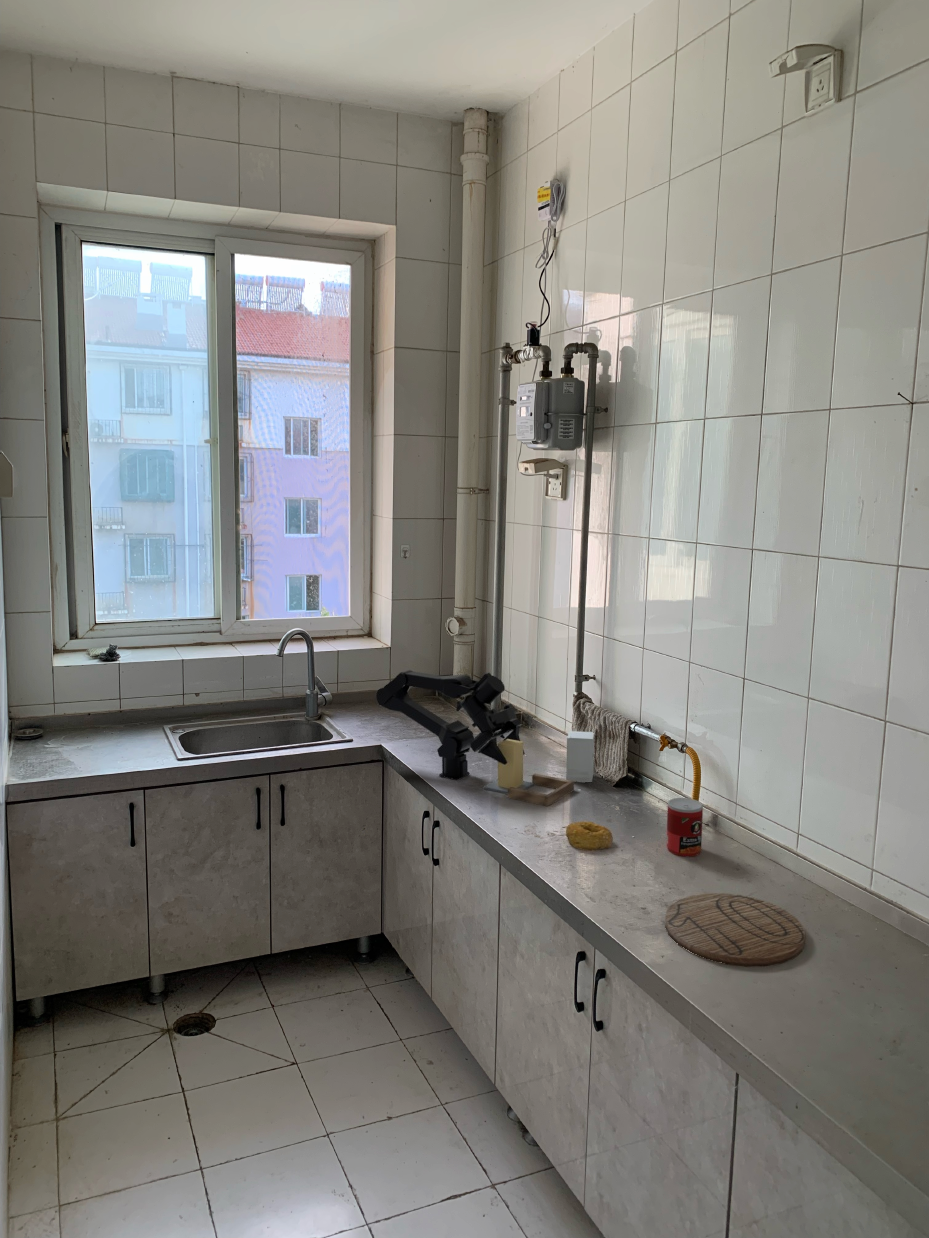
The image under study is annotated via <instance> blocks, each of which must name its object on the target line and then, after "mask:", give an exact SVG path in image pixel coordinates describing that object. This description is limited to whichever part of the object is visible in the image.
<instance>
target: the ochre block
mask: <svg viewBox="0 0 929 1238" xmlns="http://www.w3.org/2000/svg"><path fill="white" fill-rule="evenodd" d="M503 740H504V739H503ZM503 740H502V741H500V742H497V746H498V747H499V749H500V751H501V752H502V754H503V755H504V757H505V758H506V760H507V764H506V765H504V764H502V763H500V762H498V761H497V779H498V786H499V787H504V788H510V787H514V788H517V787H519V786H521V785H523V781H524V755H523V750H524V741H522V740H520V741H516V740H510V739H506V740H504V741H503Z"/></svg>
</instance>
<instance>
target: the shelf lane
mask: <svg viewBox="0 0 929 1238" xmlns="http://www.w3.org/2000/svg"><path fill="white" fill-rule="evenodd" d="M531 782H532V783H534V785H537V786H542V787H547V788H551V789H554V790H553V791H551V792H550V793H548V794H546V793H541V792H537V791H534V790H533V791H532V790H528V789H526V790H523V789H519V788H514V787H510V788H508V794H507V798H509V799H513V800H518V801H521V802H522V801H523V802H527V803H532V804H536V805H540V806H546V807H549V806H552V804H554V803H555V802H557V801H559V800H561V799H562V798H564V797H565V796H567V795H568V794H570V793H572V792H574V789H575V782H574V781H570V780H566V778H565V779H564V778H558V777H554V776H549V775H543V774H539V773H533V774H532V775H531ZM571 791H572V792H571Z"/></svg>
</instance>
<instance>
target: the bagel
mask: <svg viewBox="0 0 929 1238" xmlns="http://www.w3.org/2000/svg"><path fill="white" fill-rule="evenodd" d="M565 836H566V838H567V841H568V843H569V844H570V846H572V847H574V848H577V849H580V850H583V849H584V850H585V851H593V850H594V851H595V850H601V849H602V850H603V849H609V848H610V847H611V846H612V844H613V842H614V841H613V840H614V837H613V835H612V832H611V830H610V829H608V828H607V827H606V826H603V825H600V824H596V823H594V822H592V821H584V820H582V821H578V822H572V823H570V824H567V826H566V829H565Z"/></svg>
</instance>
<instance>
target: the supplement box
mask: <svg viewBox="0 0 929 1238" xmlns="http://www.w3.org/2000/svg"><path fill="white" fill-rule="evenodd" d="M593 732H594V731H573V730H572V731H571V730H569V731H568V734H567V737H566V763H565V764H566V766H565V767H566V771H565V774H566V775H565V777H566V778H565V780H570V781H574V783H585V782H592V783H593V777H594V768H595V767H594V763H595V760H594V757H595V732H594V733H593ZM576 781H577V782H576Z"/></svg>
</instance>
